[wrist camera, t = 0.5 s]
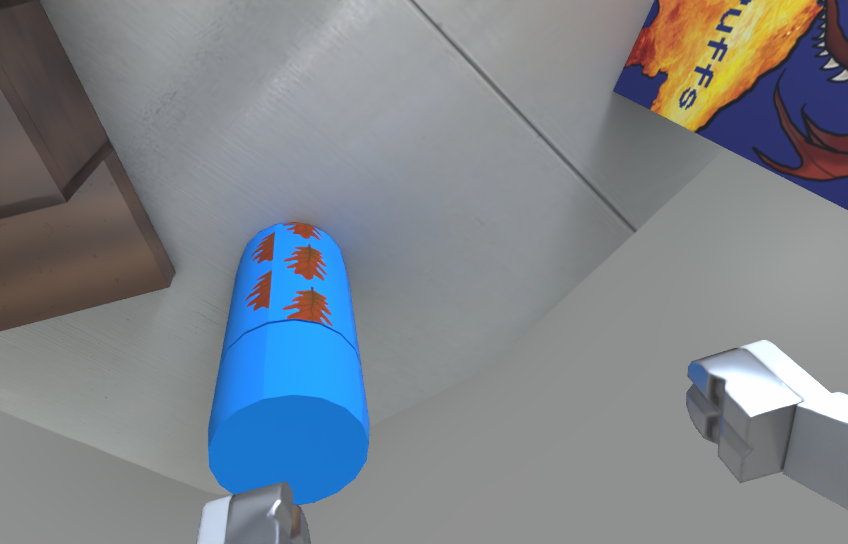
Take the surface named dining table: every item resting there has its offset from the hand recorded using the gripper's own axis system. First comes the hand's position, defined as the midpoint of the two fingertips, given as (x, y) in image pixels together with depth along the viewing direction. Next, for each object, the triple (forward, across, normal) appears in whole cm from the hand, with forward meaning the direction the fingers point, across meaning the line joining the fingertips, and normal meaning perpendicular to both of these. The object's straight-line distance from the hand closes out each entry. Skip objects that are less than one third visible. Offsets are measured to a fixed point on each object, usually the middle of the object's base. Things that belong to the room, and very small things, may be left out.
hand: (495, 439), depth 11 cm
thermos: (+46, +11, +20) cm, 51 cm away
